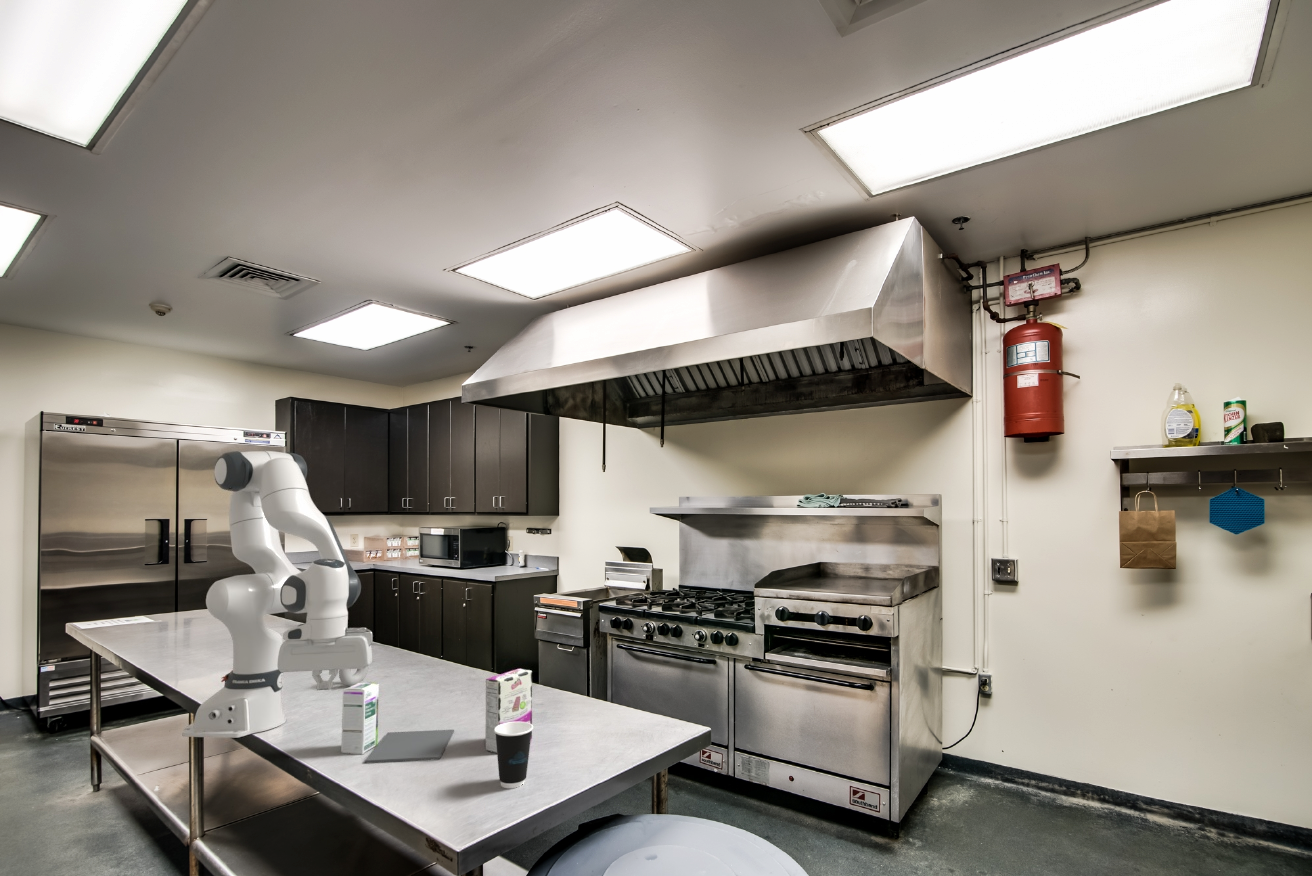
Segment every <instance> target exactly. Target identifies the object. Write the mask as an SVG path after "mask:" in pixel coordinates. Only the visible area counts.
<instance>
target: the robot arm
mask: <svg viewBox="0 0 1312 876" xmlns="http://www.w3.org/2000/svg"><path fill="white" fill-rule="evenodd" d="M213 474H214V475H213V476H214V480H215V483H216V485H218V487H219V488H220V489H221V490H224V491H228V492H232V493H231V494H230V498H229V507H228V509H229V510H228V522H229V523H228V524H229V531H230V533H229V535H230V542H231V549H232V550H231V551H232V554H233V556H234V557H235V558H236V559H237V560H238V561H240V562H242V563H245V564H247V565H249V566H250V567H251V568H252V569H253V571H254V572H255V573H252V574H251V573H250V574H240V575H233V576H230V577H226V578H222V579H220V580H216V581H215V582H214V583H212V585H211V586H210V587H209V588H208V591H207V593H206V598H205V605H206V608H207V610H208V612H209V613H210V614H211V616H213V618H215V619H217V620H218V621H220V622H221V623H222V624H223V625H225V627H226V628H227V630H228V632H229V634H230V636H231V637H230V638H231V639H232V640H231V641H232V649H233V650H232V651H233V653H232V655H233V656H232V659H233V660H232V669H231V671H230V672H228V673H227V674H224V676H222V677H220V678H221V679H222V680H221V683H223V682H224V686H223V687H222V688H221V689H220V690H218V691H217V692H216V693H214V694H213V695H211V696H210V697H208V698H207V700H205V701H204V702H202V703H201V704H200V705H199V707H198V708H197V710H196V713H195V716H194V721H193V722H192V723H190V724H188V725H187V726H186V727H184V728H183V730H182V734H181V735H182V737H187V738H188V737H190V738H192V737H193V738H227V739H228V738H229V739H230V738H232V739H233V738H234V739H235V738H237V739H238V738H241V737H245V736H248V735H252V734H257V733H260V732H264V731H268V730H272V729H274V728H276V727H279V726H281V725H283V724H285V722H286V721H287V718H286V715H285V711H284V710H285V709H284V705H283V703H284V702H283V695H282V694H283V693H282V689H283V686H284V678H285V677H284V676H285V675H284V673H295V672H296V673H297V672H311V673H312V675H311V676H312V678H313V679H314V681H315V683H316V690H317V691H327V690H332V689H333V686H334V680H335V679H336V677H337V676H338V675H339V670H340V669H351V670H355V669H356V670H357V669H360V668H366V667H368V666H371V664H372V662H373V651H372V650H373V648H372V643H373V640H374V639H373V637H374V635H373V632H372V630H370V629H368V628H367V627H348V626H349V625H348V623H349V622H348V620H349V611H348V609H349V608H350V607H352V606H353V605H354V603H356V601H357V600H358V598H359V597H360V594H361V591H362V590H361V589H362V584H361V580H360V578H359V576H358V574H357V572H356V571H355V570H354V568H353V567H352V565H351V563H350V561H349V558H348V557H347V554H346V553H345V550H344V548H343V545H342V543H341V541H340V539H339V536H338V535H337V531H336V530H335V528H334V526H333V524H332V522H331V520H330V519H329V517H328V516H326V515H325V514H323V513H322V512H321V510H319V509H318V508H317V506H316V504H315V503H314V501H313V499H312V498H311V494H310V490H309V487H308V485H307V484H308V483H307V481H306V480H307V475H308V465H307V462H306V461H305V459H304V457H303V456H302V455H299V454H298V453H293V452H290V451H289V452H281V451H275V450H272V451H271V450H261V451H259V450H255V451H239V450H237V451H228V452H225V453H223V454H221V455H220V456H219V457H218V458H217V460H216V462H215V465H214V472H213ZM279 532H281V533H284V534H287V535H293V536H295V537H298V538H301V539H304V540H306V541H308V542H310V543H311V544H313V545H314V546H315V548H316V549H317V551H318V553H319V556H320V559H316V560H314V561H312V562H311V564H309V567H308V568H307V569H304V570H303V571H302V570H300V569H298V568H297V567H296V566H295V565H294V564H293V563H292V562H291V561H290V560H289V559H288V557H287V555H286V553H285V551H284V548H283V546H282V542H281V538H280V533H279ZM286 612H289V613H291V614H304V613H306V622H305V623H300V624H298V625H297V626H294V627H291V628H289V629H287V630H285V631H283V633H282V635H281V634H280V633H279V632H278V631H276V630H274V629H272V628H270V627H267V626H266V623H265V616H267V615H273V614H279V613H286ZM368 668H369V667H368ZM323 671H328V675H331V676H329V678H328V680H323V678H322V676H321V674H322V673H323Z"/></svg>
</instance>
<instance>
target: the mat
mask: <svg viewBox="0 0 1312 876" xmlns="http://www.w3.org/2000/svg"><path fill="white" fill-rule="evenodd" d="M454 733H455V729H438V730H437V729H436V730H414V731H413V730H412V731H394V732H393V731H391V732H390V731H389V732H386V734H385V735H384V737H383V738H382V739H381V740H380V742H379V743H377V746H375V747H374V749H373V750H372V751H371V752H370V753H369V755H368V756H367V757H366V758H365V760H364V764H376V763H378V764H379V763H380V764H381V763H396V762H399V763H401V762H416V761H418V760H420V761H432V760H431V759H441V758H440V757H442V756H443V754H442V753H444V752H445V750H446V749H447V746H448V745H449V742H450V740H451V738H452V736H453V735H454ZM441 755H442V756H441ZM418 762H419V761H418Z"/></svg>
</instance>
